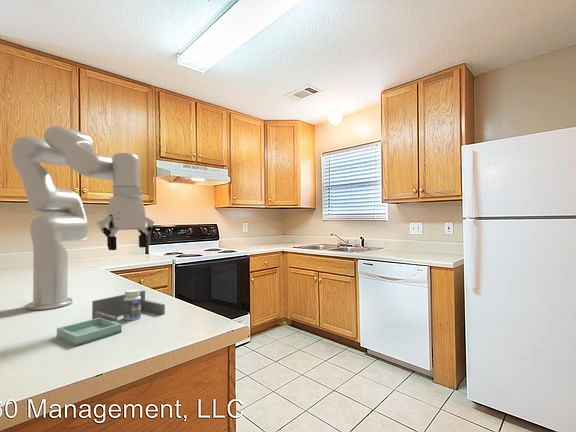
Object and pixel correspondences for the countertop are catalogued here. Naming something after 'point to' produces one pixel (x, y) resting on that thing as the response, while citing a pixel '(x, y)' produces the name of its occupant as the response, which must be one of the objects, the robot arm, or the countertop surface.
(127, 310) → the pill bottle
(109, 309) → the bay
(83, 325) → the tray
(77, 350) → the countertop surface
